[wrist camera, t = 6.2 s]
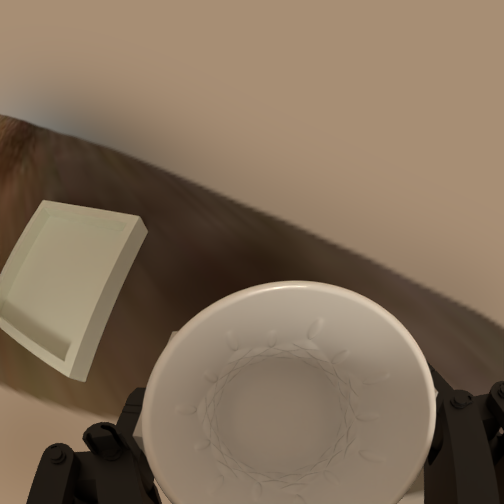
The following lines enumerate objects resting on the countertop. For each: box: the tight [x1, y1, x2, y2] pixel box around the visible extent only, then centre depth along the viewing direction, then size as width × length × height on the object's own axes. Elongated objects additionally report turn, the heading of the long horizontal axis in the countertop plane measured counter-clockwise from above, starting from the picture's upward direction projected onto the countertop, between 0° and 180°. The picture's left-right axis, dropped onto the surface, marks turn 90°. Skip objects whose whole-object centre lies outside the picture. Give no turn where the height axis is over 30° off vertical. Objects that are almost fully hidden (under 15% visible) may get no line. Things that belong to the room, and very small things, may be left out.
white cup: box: [141, 281, 436, 504], centre depth 10 cm, size 8×8×10 cm
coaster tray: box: [0, 200, 148, 382], centre depth 19 cm, size 13×13×2 cm
